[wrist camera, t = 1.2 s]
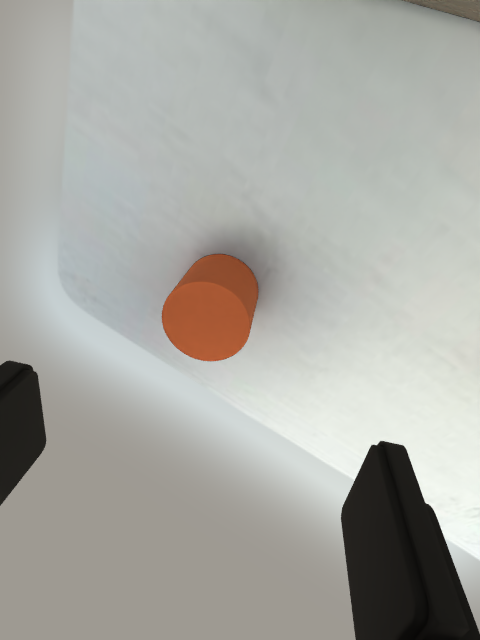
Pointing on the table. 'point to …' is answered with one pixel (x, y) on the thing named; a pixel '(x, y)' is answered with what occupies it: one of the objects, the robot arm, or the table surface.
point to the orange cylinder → (211, 308)
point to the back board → (453, 7)
